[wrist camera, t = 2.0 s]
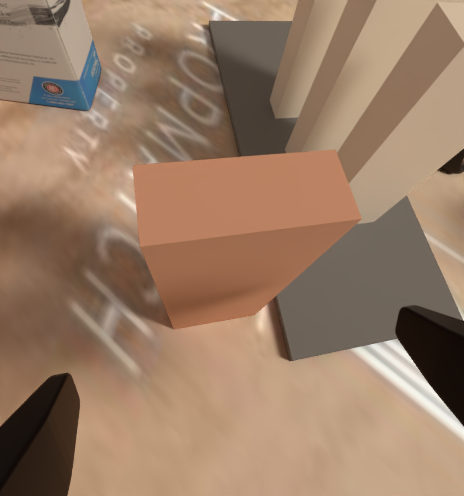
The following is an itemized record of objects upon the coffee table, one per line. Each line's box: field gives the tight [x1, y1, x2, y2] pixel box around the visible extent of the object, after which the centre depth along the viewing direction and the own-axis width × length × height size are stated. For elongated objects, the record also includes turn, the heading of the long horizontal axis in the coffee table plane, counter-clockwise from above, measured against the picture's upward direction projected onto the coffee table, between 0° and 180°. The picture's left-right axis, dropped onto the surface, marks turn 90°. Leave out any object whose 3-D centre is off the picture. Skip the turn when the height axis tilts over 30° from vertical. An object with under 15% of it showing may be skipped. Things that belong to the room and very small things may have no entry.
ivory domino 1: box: [270, 0, 348, 119], centre depth 19 cm, size 2×5×13 cm, turn 101°
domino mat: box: [209, 21, 463, 361], centre depth 24 cm, size 30×12×1 cm, turn 11°
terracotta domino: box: [133, 149, 362, 329], centre depth 13 cm, size 2×5×13 cm, turn 101°
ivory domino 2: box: [285, 0, 464, 153], centre depth 18 cm, size 2×5×13 cm, turn 100°
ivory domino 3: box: [337, 2, 464, 224], centre depth 16 cm, size 2×5×13 cm, turn 101°
